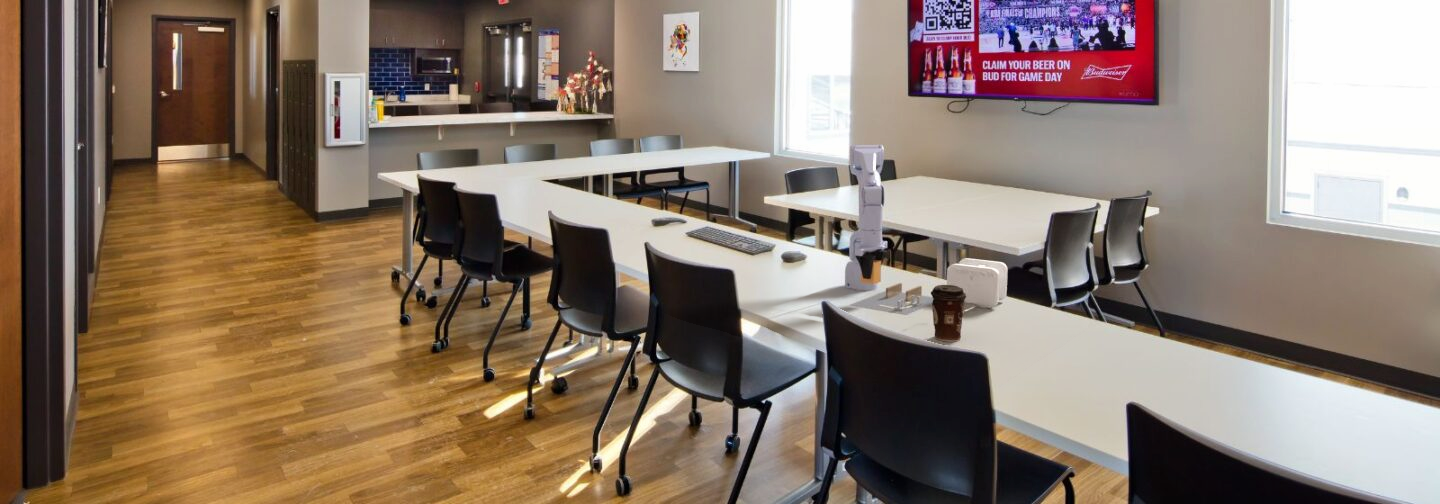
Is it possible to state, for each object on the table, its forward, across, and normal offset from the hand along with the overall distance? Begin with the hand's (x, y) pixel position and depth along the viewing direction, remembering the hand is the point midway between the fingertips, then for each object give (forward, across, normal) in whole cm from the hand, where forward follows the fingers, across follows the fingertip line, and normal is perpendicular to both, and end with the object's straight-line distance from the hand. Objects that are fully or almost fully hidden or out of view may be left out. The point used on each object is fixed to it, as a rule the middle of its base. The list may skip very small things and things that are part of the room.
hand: (870, 277), depth 260 cm
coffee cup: (+9, -16, -31) cm, 36 cm away
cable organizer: (+9, +22, -22) cm, 32 cm away
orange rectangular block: (+1, 0, 0) cm, 1 cm away
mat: (+9, +6, -5) cm, 12 cm away
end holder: (+8, +12, -4) cm, 15 cm away
